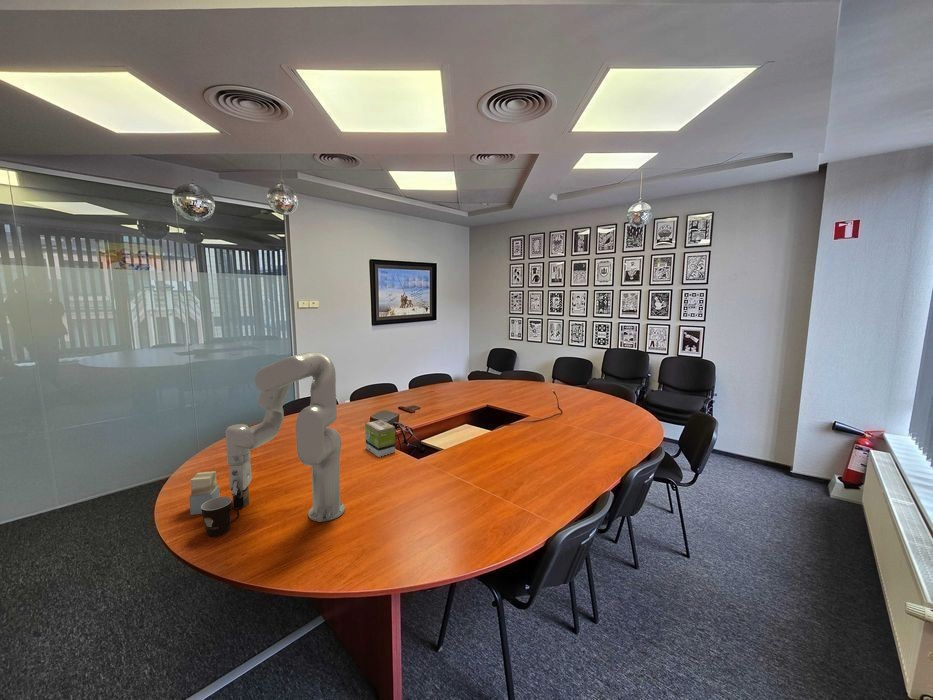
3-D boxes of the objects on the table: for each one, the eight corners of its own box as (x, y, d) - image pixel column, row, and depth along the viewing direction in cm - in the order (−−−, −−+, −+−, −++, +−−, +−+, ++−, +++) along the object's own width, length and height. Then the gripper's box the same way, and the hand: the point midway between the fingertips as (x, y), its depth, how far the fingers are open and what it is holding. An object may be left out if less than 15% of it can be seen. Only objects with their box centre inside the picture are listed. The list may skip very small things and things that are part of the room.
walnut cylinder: (246, 507, 139) (246, 492, 138) (231, 509, 138) (230, 493, 137) (251, 500, 144) (250, 485, 143) (236, 502, 143) (235, 487, 142)
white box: (212, 512, 135) (211, 494, 135) (190, 514, 134) (189, 496, 133) (219, 502, 142) (218, 485, 141) (199, 504, 140) (197, 487, 140)
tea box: (364, 449, 198) (364, 422, 196) (381, 444, 205) (381, 419, 203) (378, 458, 187) (378, 429, 185) (395, 453, 194) (395, 425, 192)
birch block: (210, 493, 135) (209, 478, 134) (191, 495, 133) (190, 480, 133) (216, 486, 141) (215, 471, 140) (198, 488, 139) (197, 472, 139)
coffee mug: (198, 533, 123) (196, 504, 122) (226, 521, 130) (224, 494, 129) (214, 546, 117) (212, 516, 116) (242, 532, 124) (241, 504, 123)
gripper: (242, 466, 132) (245, 514, 134) (256, 448, 148) (258, 491, 150) (218, 468, 130) (221, 516, 132) (235, 449, 146) (237, 493, 148)
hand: (241, 502), depth 141 cm, fingers closed on walnut cylinder, 5 cm apart
